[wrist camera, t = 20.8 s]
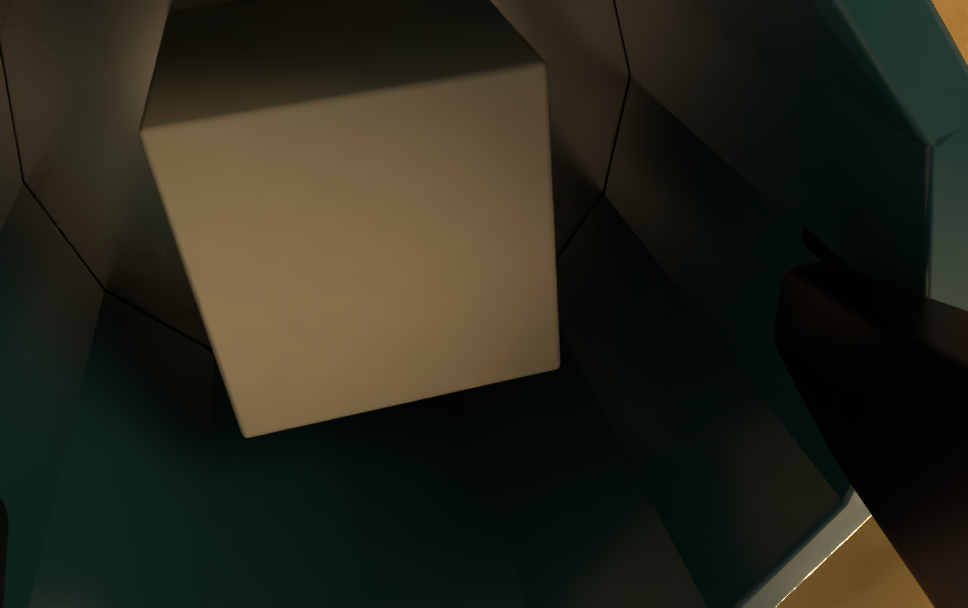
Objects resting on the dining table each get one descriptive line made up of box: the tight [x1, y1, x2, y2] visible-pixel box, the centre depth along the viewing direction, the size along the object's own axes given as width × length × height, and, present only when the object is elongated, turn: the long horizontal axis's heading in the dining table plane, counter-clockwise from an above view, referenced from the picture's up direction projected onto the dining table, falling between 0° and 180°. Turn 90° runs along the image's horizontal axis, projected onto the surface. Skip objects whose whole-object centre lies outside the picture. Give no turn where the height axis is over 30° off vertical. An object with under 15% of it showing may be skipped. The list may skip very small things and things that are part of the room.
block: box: [138, 0, 560, 438], centre depth 12 cm, size 4×4×4 cm
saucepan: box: [0, 0, 968, 608], centre depth 12 cm, size 11×22×8 cm, turn 95°
